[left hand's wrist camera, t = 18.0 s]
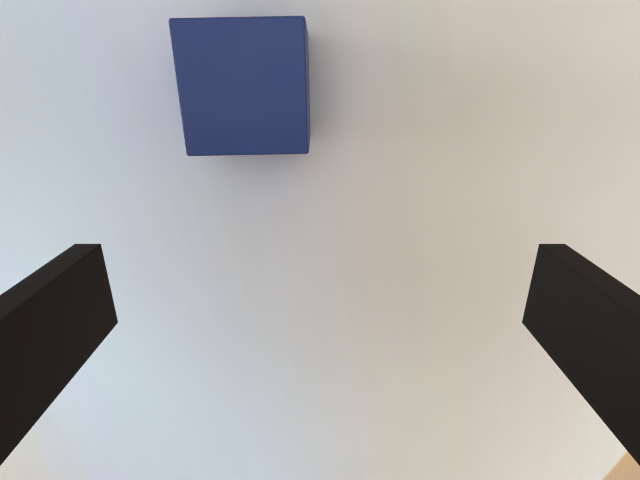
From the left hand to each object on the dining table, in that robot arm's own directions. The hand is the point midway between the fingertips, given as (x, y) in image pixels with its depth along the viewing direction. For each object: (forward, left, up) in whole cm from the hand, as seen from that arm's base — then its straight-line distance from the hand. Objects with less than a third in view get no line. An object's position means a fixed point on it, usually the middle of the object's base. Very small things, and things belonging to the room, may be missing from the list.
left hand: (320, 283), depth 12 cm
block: (+5, +3, -10) cm, 12 cm away
